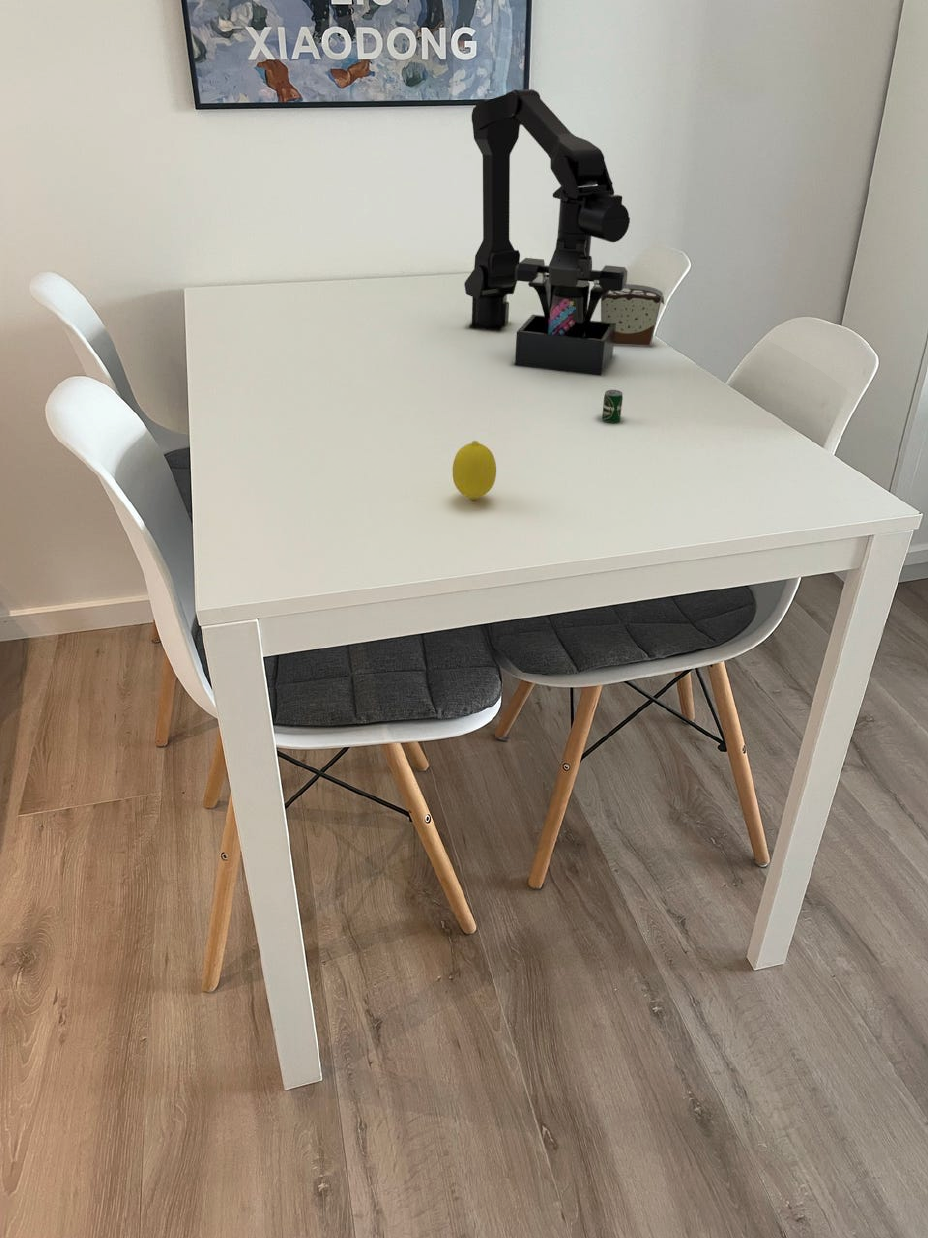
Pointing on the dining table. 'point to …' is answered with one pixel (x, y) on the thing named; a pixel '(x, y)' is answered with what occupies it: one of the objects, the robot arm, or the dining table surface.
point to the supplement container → (568, 309)
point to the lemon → (474, 470)
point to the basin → (565, 347)
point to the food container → (632, 313)
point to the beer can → (612, 406)
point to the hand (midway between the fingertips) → (566, 324)
